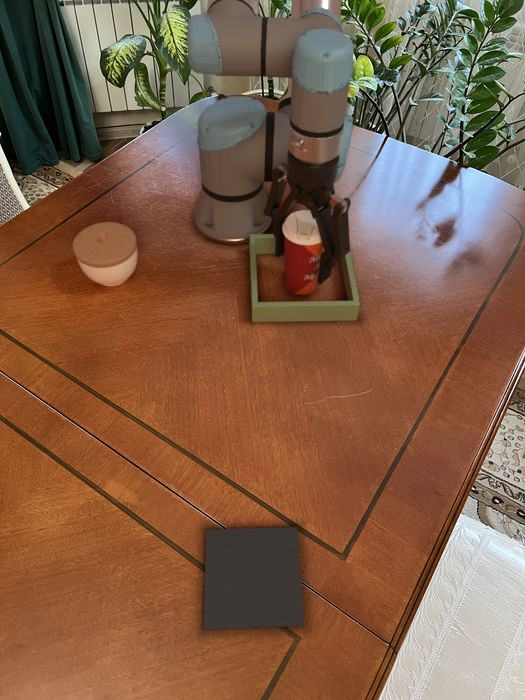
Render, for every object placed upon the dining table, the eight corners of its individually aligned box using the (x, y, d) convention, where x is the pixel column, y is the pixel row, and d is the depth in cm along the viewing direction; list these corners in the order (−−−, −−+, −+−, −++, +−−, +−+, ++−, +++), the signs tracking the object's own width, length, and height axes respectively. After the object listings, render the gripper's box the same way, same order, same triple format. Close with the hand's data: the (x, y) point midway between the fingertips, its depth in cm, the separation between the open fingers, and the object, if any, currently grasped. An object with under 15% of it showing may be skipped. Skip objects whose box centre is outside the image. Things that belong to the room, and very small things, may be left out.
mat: (205, 530, 75) (205, 529, 75) (296, 528, 76) (297, 526, 75) (203, 630, 68) (203, 629, 68) (304, 626, 68) (304, 625, 68)
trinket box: (152, 262, 106) (145, 222, 99) (125, 302, 100) (115, 262, 92) (101, 248, 108) (90, 208, 101) (71, 286, 102) (57, 247, 94)
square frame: (249, 250, 109) (249, 234, 105) (343, 249, 109) (346, 233, 106) (252, 322, 98) (252, 306, 94) (356, 320, 98) (360, 304, 95)
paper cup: (318, 302, 101) (326, 242, 90) (275, 295, 101) (278, 234, 90) (324, 272, 105) (333, 210, 94) (283, 265, 106) (287, 204, 95)
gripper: (241, 131, 85) (242, 246, 103) (358, 195, 76) (337, 309, 94) (275, 112, 88) (270, 227, 106) (391, 171, 79) (365, 285, 97)
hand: (302, 265), depth 100 cm, fingers open, 9 cm apart
